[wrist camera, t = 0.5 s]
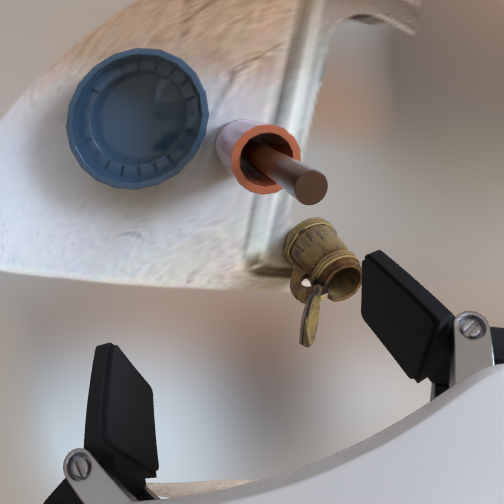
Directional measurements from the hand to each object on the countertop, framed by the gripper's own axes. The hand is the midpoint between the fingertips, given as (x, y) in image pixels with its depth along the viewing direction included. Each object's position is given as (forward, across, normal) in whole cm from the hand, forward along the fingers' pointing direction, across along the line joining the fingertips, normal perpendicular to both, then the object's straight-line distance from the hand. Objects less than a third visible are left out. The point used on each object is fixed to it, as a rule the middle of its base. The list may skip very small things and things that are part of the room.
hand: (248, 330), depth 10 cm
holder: (+30, -7, 0) cm, 31 cm away
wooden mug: (+30, -12, +17) cm, 36 cm away
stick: (+29, -7, 0) cm, 30 cm away
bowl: (+30, +4, -8) cm, 31 cm away
